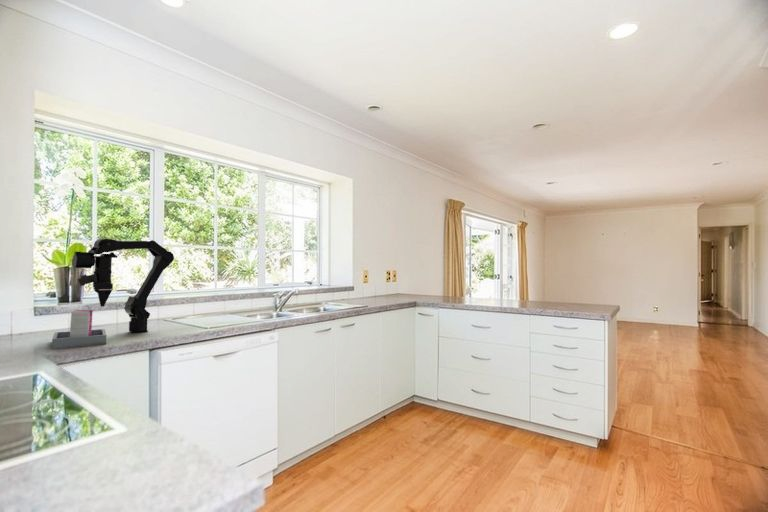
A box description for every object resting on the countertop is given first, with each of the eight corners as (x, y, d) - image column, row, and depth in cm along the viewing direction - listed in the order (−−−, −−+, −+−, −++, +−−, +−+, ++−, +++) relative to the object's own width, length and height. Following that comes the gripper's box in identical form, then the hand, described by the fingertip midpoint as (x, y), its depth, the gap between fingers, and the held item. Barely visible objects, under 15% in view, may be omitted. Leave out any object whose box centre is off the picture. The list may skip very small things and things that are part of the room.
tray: (104, 337, 165) (104, 328, 165) (106, 344, 152) (106, 335, 152) (54, 341, 155) (54, 332, 155) (51, 349, 143) (52, 339, 143)
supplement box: (88, 341, 153) (89, 311, 153) (68, 342, 150) (69, 311, 150) (91, 338, 158) (92, 309, 158) (73, 339, 155) (74, 309, 156)
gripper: (79, 267, 170) (77, 303, 170) (79, 268, 156) (77, 308, 155) (110, 267, 177) (109, 302, 177) (113, 269, 162) (112, 307, 162)
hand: (101, 305), depth 168 cm, fingers open, 9 cm apart
